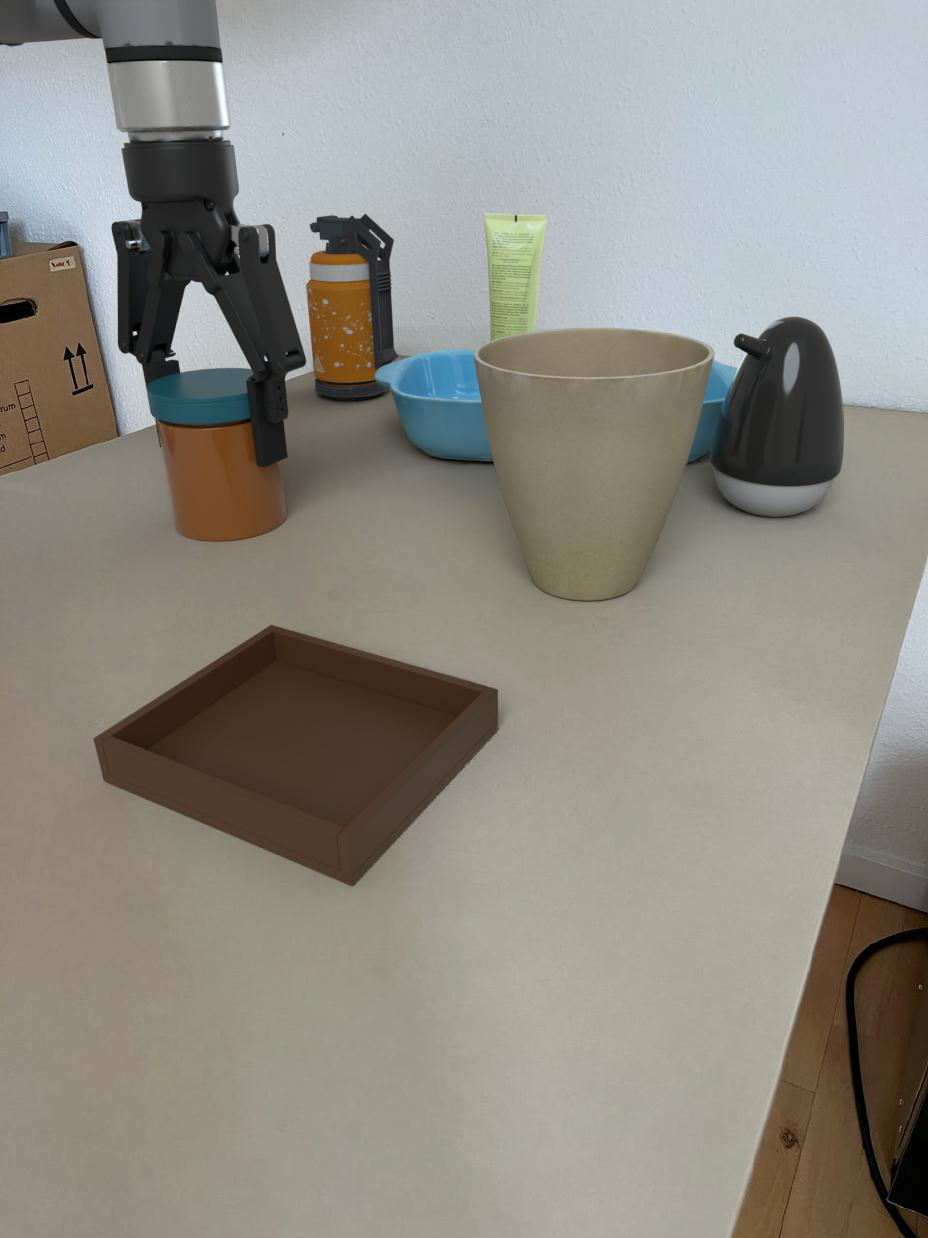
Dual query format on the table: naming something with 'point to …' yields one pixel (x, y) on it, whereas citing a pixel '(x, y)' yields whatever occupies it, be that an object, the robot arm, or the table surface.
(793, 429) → the pump dispenser
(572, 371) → the plant pot
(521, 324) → the tube
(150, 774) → the tray
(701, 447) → the casserole dish
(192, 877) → the table surface
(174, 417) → the lid
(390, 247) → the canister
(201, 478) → the jam jar
